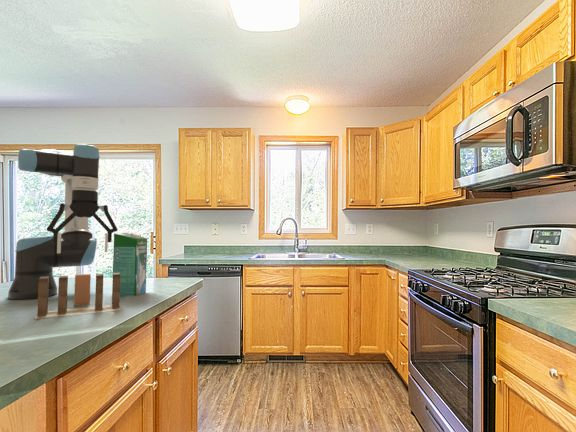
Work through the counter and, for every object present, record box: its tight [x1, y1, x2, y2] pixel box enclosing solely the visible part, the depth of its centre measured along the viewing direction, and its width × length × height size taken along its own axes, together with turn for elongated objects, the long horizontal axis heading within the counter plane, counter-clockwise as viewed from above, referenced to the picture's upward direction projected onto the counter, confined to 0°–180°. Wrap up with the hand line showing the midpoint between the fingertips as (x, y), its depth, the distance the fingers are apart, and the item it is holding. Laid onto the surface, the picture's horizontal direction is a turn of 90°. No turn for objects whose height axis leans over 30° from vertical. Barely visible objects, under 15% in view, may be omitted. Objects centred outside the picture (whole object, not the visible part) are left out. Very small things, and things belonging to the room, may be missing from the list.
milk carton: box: [112, 232, 148, 297], centre depth 128 cm, size 9×9×25 cm
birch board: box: [33, 304, 122, 320], centre depth 101 cm, size 9×22×1 cm, turn 121°
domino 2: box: [57, 275, 69, 315], centre depth 98 cm, size 4×2×11 cm, turn 31°
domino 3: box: [94, 273, 104, 311], centre depth 103 cm, size 4×2×11 cm, turn 31°
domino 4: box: [111, 272, 121, 309], centre depth 106 cm, size 4×2×11 cm, turn 31°
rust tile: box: [73, 273, 92, 306], centre depth 109 cm, size 4×2×11 cm, turn 121°
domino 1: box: [36, 277, 49, 317], centre depth 96 cm, size 4×2×11 cm, turn 31°
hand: (83, 252), depth 109 cm, fingers open, 13 cm apart
